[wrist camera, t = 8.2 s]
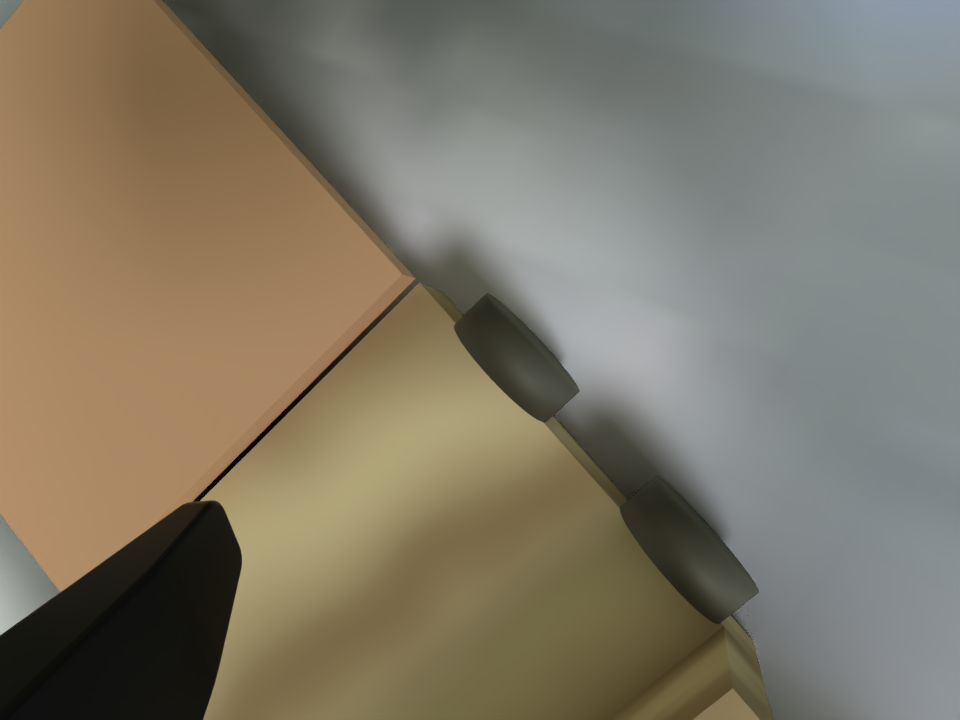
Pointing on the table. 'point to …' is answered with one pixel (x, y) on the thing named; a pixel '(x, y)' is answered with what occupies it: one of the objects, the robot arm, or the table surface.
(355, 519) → the cart bed
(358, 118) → the table surface
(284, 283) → the tailgate
